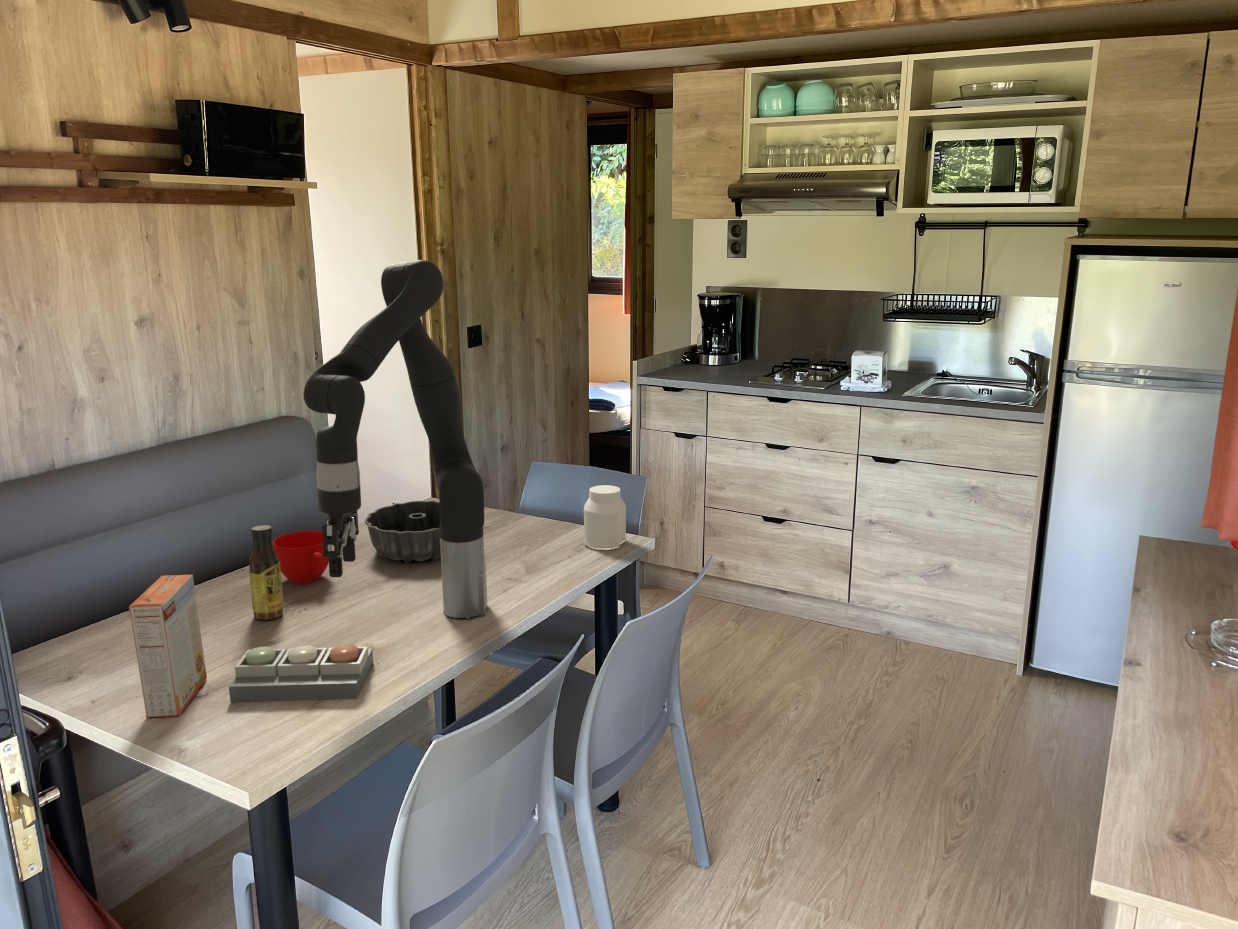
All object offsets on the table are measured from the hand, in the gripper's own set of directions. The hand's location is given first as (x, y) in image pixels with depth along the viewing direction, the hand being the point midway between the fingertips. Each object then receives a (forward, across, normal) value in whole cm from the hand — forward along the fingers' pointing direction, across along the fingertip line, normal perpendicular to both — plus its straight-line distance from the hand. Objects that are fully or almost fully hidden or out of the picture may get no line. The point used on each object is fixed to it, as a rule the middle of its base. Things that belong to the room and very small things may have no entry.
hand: (343, 568), depth 170 cm
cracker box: (+21, -12, +27) cm, 36 cm away
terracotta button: (+15, -6, -1) cm, 16 cm away
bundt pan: (+19, +65, 0) cm, 68 cm away
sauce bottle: (+20, +24, +24) cm, 39 cm away
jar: (+18, +71, -49) cm, 88 cm away
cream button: (+15, -6, +6) cm, 18 cm away
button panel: (+20, -6, +6) cm, 22 cm away
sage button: (+16, -6, +14) cm, 22 cm away
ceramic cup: (+20, +44, +22) cm, 53 cm away
